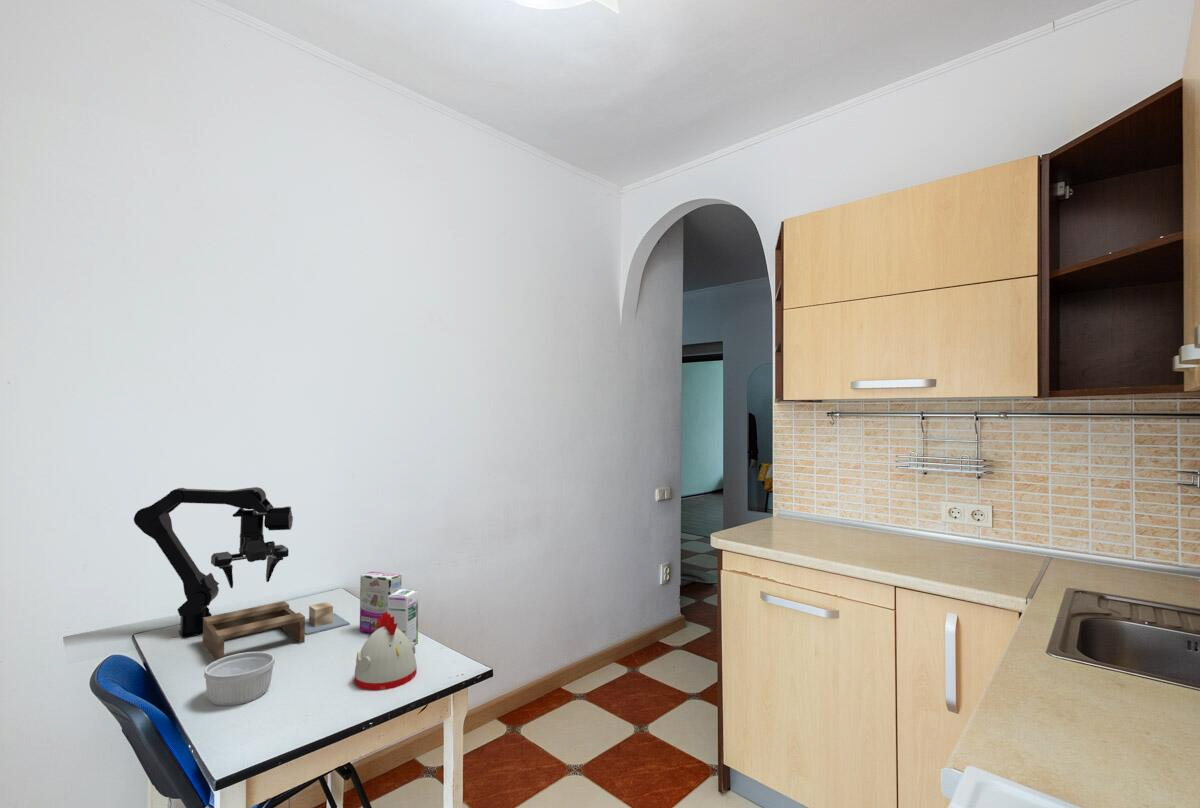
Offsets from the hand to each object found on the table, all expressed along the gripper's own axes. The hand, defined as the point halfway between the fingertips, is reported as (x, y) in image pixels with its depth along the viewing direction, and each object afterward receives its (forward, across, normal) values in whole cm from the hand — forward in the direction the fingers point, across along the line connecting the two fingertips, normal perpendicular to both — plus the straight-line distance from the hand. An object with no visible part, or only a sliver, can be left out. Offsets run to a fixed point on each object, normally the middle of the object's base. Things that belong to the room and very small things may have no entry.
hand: (249, 584), depth 166 cm
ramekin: (+13, -12, -44) cm, 47 cm away
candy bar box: (+12, +26, -30) cm, 41 cm away
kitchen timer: (+12, +15, -58) cm, 61 cm away
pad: (+12, +16, -12) cm, 23 cm away
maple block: (+12, +16, -12) cm, 23 cm away
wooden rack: (+12, -2, -14) cm, 19 cm away
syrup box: (+12, +26, -44) cm, 52 cm away
